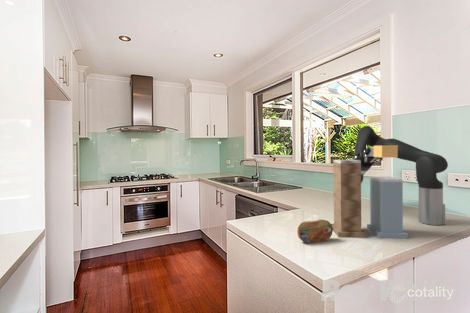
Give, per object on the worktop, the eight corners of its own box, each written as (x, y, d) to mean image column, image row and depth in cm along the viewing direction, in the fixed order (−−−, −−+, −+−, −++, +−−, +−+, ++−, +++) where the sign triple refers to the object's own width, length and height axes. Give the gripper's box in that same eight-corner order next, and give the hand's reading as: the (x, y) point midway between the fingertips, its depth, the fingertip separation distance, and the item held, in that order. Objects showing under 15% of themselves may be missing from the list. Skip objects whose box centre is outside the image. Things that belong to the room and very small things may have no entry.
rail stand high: (355, 228, 111) (354, 159, 110) (366, 237, 99) (365, 160, 98) (330, 227, 112) (330, 159, 112) (338, 237, 101) (337, 161, 100)
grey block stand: (392, 229, 109) (392, 176, 108) (408, 238, 97) (407, 179, 96) (366, 228, 110) (366, 176, 110) (379, 238, 98) (378, 179, 98)
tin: (300, 244, 94) (300, 223, 93) (296, 241, 97) (296, 221, 96) (333, 240, 98) (333, 219, 97) (328, 237, 101) (328, 217, 100)
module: (377, 155, 117) (377, 145, 117) (397, 157, 99) (397, 145, 99) (364, 156, 118) (364, 145, 117) (382, 157, 100) (382, 145, 100)
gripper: (347, 158, 131) (357, 142, 116) (375, 158, 129) (389, 141, 114) (349, 171, 127) (360, 156, 112) (378, 171, 125) (393, 155, 110)
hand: (374, 149), depth 113 cm, fingers closed on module, 4 cm apart
